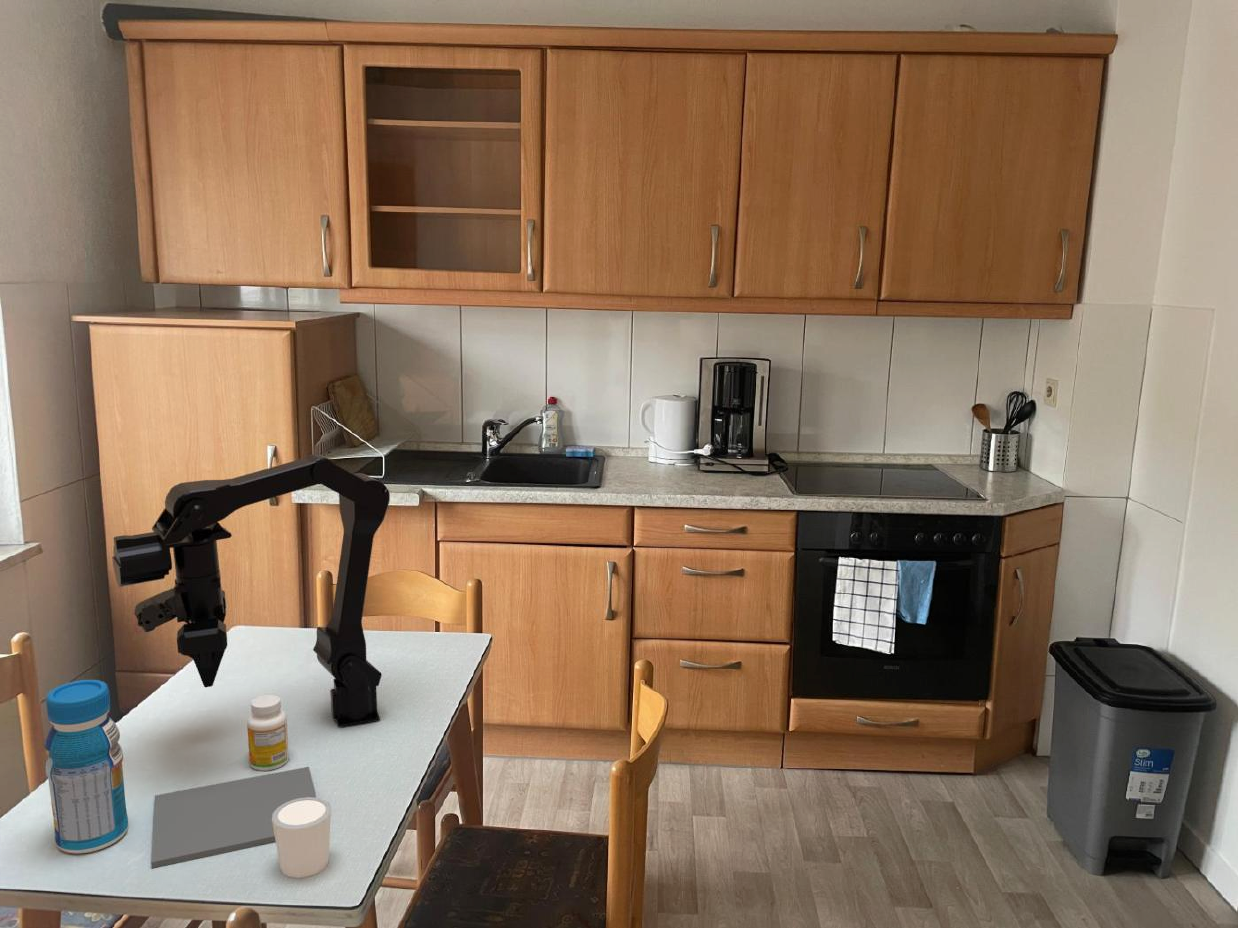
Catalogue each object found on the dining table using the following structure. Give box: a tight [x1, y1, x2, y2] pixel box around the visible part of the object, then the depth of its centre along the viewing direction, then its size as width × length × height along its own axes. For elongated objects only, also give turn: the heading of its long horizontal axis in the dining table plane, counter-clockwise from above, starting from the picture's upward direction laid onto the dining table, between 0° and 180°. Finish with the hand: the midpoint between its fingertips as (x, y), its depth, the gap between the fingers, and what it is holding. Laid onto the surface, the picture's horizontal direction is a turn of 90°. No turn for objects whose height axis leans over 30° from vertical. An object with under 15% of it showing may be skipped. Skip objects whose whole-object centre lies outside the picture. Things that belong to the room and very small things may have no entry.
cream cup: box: [272, 797, 332, 879], centre depth 116 cm, size 7×7×7 cm
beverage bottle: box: [44, 679, 129, 854], centre depth 119 cm, size 8×8×20 cm
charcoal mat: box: [150, 766, 318, 869], centre depth 126 cm, size 20×16×1 cm
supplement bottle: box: [246, 694, 290, 772], centre depth 139 cm, size 5×5×10 cm
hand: (208, 673), depth 139 cm, fingers open, 9 cm apart
